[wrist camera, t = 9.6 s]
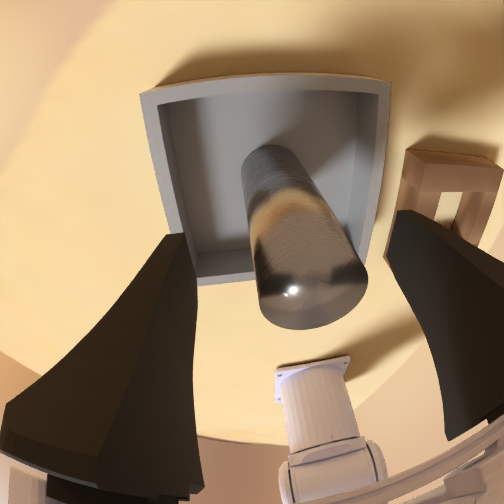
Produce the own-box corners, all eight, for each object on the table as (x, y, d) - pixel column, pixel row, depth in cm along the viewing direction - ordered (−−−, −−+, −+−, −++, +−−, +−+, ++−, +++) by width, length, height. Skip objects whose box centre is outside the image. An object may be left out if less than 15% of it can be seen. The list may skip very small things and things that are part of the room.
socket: (458, 245, 19) (471, 260, 17) (382, 257, 19) (395, 276, 17) (485, 157, 14) (504, 169, 12) (405, 149, 14) (425, 163, 12)
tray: (349, 238, 17) (364, 264, 15) (189, 257, 17) (186, 287, 15) (364, 76, 11) (391, 82, 9) (153, 87, 11) (139, 94, 9)
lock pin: (301, 197, 15) (356, 321, 8) (243, 202, 14) (261, 335, 8) (301, 142, 13) (378, 244, 6) (237, 147, 13) (255, 259, 6)
